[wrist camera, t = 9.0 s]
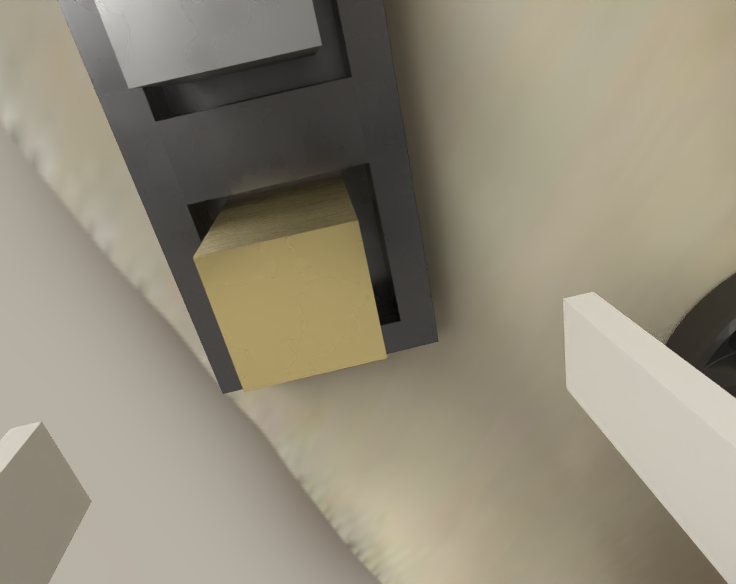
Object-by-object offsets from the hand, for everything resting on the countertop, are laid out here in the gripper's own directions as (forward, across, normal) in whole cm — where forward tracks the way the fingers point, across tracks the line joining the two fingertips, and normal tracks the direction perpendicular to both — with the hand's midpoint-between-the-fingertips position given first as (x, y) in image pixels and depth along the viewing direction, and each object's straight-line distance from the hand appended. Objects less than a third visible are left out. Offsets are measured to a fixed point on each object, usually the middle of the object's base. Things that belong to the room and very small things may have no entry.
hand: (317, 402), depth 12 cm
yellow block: (+11, 0, -1) cm, 11 cm away
